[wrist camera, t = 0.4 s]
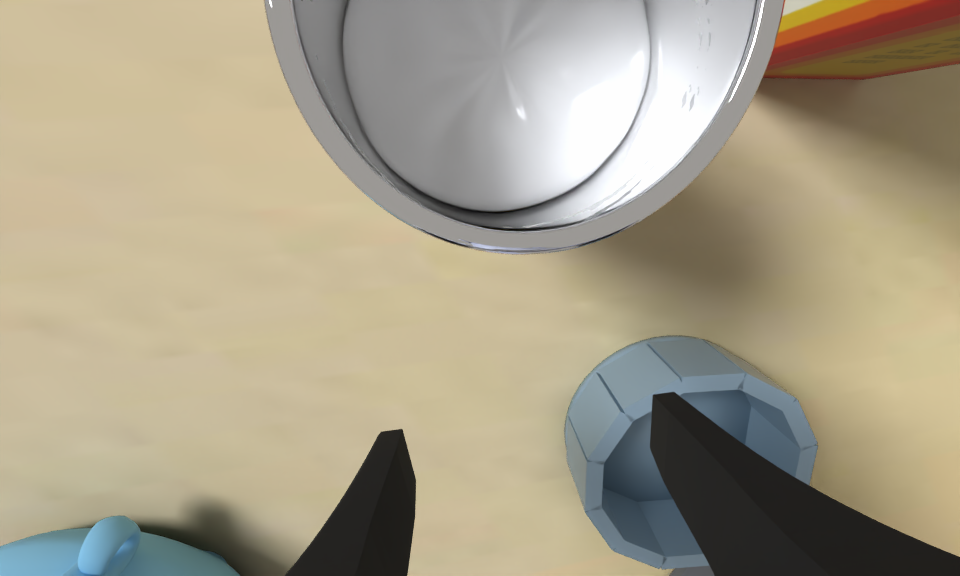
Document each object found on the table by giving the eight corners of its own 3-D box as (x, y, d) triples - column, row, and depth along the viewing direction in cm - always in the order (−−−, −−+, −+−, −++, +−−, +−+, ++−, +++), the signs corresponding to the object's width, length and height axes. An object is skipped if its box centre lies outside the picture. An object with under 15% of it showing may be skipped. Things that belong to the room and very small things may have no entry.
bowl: (681, 524, 28) (722, 593, 24) (528, 461, 26) (543, 524, 22) (792, 383, 25) (862, 431, 21) (632, 300, 23) (672, 335, 19)
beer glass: (385, 25, 19) (155, -377, 4) (550, 9, 19) (852, -433, 4) (409, 194, 21) (309, 295, 6) (558, 178, 21) (780, 242, 7)
